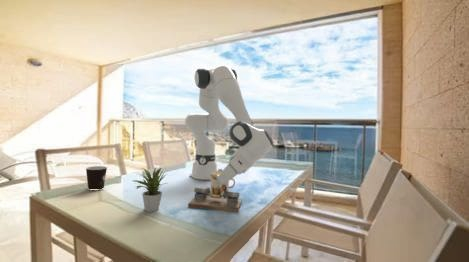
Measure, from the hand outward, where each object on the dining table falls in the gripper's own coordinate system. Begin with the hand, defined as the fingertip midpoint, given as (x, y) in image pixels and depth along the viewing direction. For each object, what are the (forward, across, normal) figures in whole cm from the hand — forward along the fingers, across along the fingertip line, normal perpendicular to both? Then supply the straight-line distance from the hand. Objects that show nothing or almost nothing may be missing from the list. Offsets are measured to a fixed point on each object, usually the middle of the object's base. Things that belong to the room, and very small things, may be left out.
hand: (215, 184), depth 104 cm
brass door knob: (+3, 0, +4) cm, 5 cm away
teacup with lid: (+6, -18, +6) cm, 20 cm away
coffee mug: (+47, -7, -35) cm, 59 cm away
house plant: (+22, +11, -10) cm, 26 cm away
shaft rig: (+6, 0, +6) cm, 9 cm away
